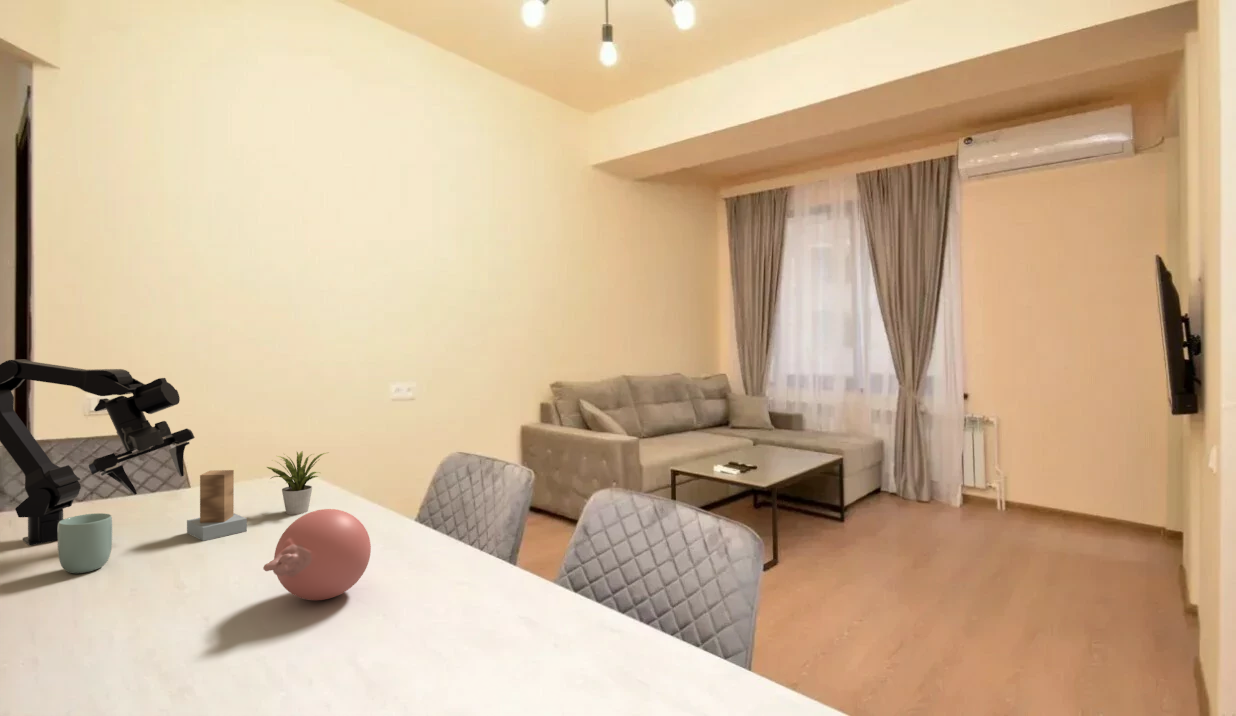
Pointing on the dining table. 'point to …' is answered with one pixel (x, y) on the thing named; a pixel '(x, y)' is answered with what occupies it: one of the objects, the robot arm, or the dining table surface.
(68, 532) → the cup
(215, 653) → the dining table surface
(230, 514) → the wooden block
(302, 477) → the house plant
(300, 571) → the balloon
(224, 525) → the pedestal
